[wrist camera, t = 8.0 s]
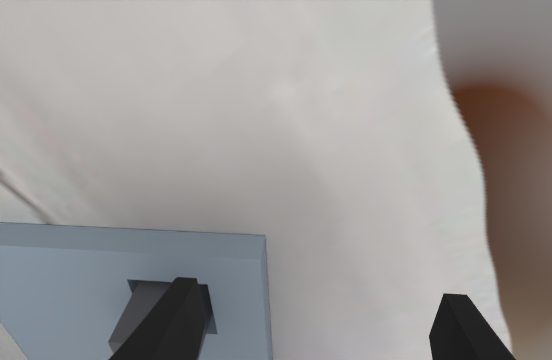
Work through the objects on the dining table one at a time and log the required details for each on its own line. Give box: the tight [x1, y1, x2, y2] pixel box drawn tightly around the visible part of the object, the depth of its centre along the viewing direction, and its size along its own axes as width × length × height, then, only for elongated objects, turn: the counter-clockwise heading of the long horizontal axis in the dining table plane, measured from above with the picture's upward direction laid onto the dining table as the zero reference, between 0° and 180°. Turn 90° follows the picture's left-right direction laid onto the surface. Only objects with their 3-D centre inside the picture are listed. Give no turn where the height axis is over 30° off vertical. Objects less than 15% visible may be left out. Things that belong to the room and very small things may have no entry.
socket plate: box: [0, 223, 273, 360], centre depth 27 cm, size 14×20×2 cm
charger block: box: [108, 280, 213, 360], centre depth 23 cm, size 4×4×6 cm
